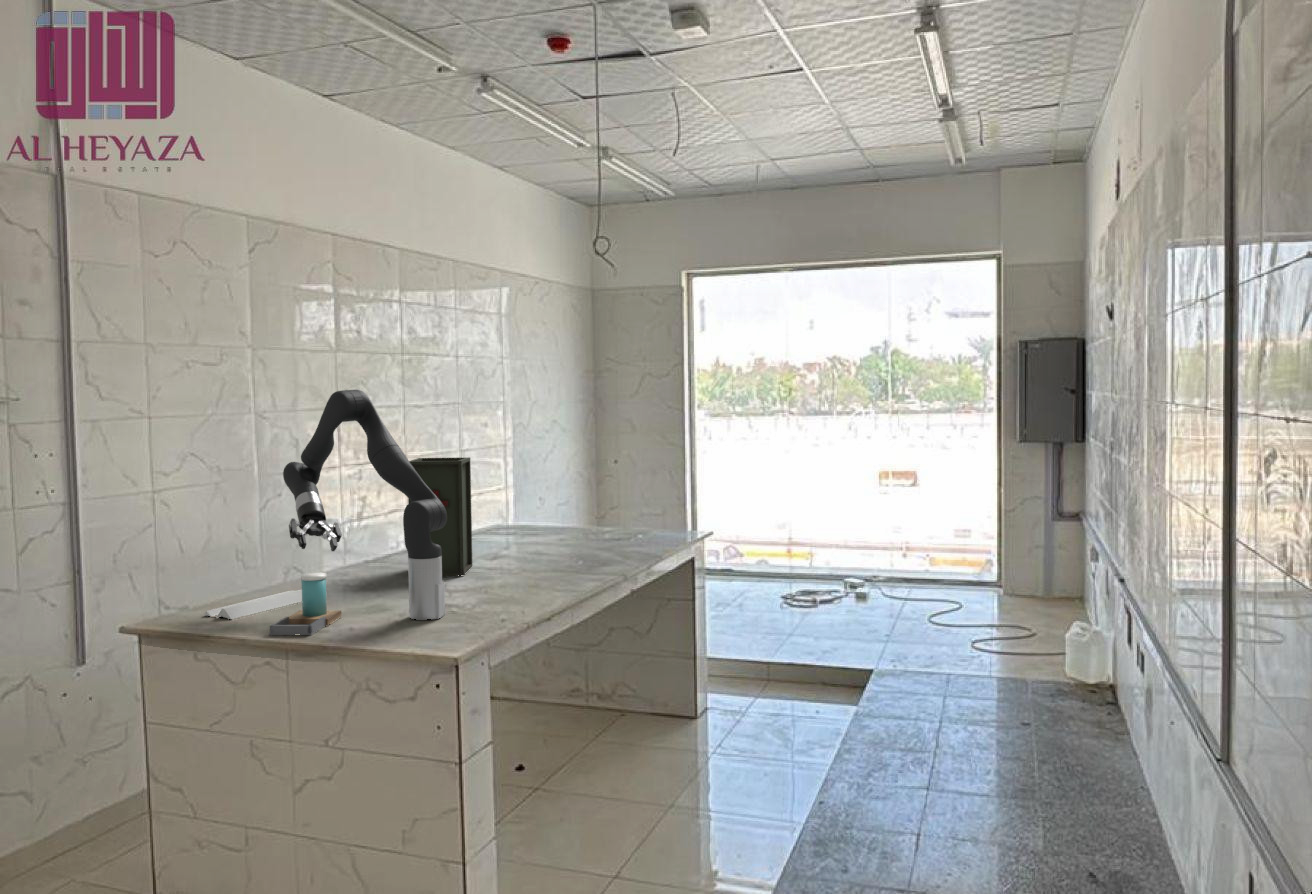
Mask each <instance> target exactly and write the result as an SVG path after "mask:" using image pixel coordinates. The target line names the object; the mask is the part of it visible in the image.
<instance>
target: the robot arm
mask: <svg viewBox="0 0 1312 894" xmlns="http://www.w3.org/2000/svg"><path fill="white" fill-rule="evenodd" d="M318 421H319V422H318V423H317V424H318V425H317V426H316V429H315V431H314V433H313V435H312V437H311V438H310V440H309V442H308V443H307V444H306V446H305V448H304V449H303V450H302V452H301V455H300V460H301V462H298V461H290V462H288V463H287V464H285V467H284V468H283V472H282V476H283V477H282V478H283V481H284V483H285V485H286V487H287V488H288V489H289V491H290V492H291V494H292V496H293V497H294V498H293V499H294V502H295V511H296V515H297V518H298V521H297V520H296V519H295V518H291V519H290V521H289V524H288V531H289V538H290V539H293V540H294V539H296V540H297V542H298V546H299V548H301V549H302V550H305V549H306V546H307V540H306V536H309V537H310V536H311V537H314V536H315V537H321V538H322V539H323V540H326V541H328V542H329V546H330V551H331V552H335V551H337V548H338V546H339V544H338V543H339V542H340V541H341V539H342V537H343V534H342V531H341V527H340V525H339V523H338V522H334V523H332V524H331V523H330V524H329V522H327V517H326V513H325V508H324V505H323V501H322V499H321V497H320V494H319V488H318V486H317V484H318V483H319V481H320V477H321V473H322V470H323V466H324V464H325V462H326V461H327V459H328V458H329V456H330V455H331V453H332V451H333V450H334V445H335V436H334V433H335V431H336V429H337V428H338V427H339V426H340V425H341V424H342V423H344V422H347V423H348V422H357V423H358V424H359V425H360V427H361V428H362V430H363V432H364V433H365V436H366V441H367V442H366V453H367V458H368V461H369V462H370V464H371V466H372V467H373V468H374V470H375V472H376V473H377V474H378V476H379V477H380V478H381V479H382V480H383V481H385V482H386V483H388V484H389V485H390V486H392V487H393V488H395V489H396V490H398V491H399V492H401V493H402V494H404V496H406V497H407V498H409V499H410V501H411V502H410V503H409V504H407V505H406V506H405V508H404V511H403V515H402V523H403V537H404V539H403V540H404V545H405V548H406V551H407V563H408V564H407V568H408V569H407V571H408V607H409V608H408V612H409V613H408V614H409V619H410V618H411V619H410V620H414V619H416V620H415V621H428V620H427V619H431V620H437V619H438V620H439V618H440V619H441V618H443V616H444V615H446V607H445V606H446V605H445V603H446V601H445V599H446V597H445V595H446V594H445V592H446V591H445V581H444V580H443V577H442V556H441V555H442V551H441V546H440V545H438V544H434V543H433V542H432V541H431V537H430V532H431V531H436V530H439V529H441V528H443V527H444V526H445V524H446V522H447V513H446V509H445V507H444V505H443V504H442V502H441V501H440V500H439V499H438V497H437V496H436V495H435V494H434V493H433V492H432V491H431V490H430V488H429V487H428V486H427V485H426V484H425V482H424V481H423V480H422V479H421V477H420V476H419V474H418V473H417V472H416V470H415V469H414V468H413V466H412V465H411V463H410V462H409V461H410V460H409V459H408V458H407V456H406V454H405V453H404V451H403V450H402V448H401V447H400V445H399V444H398V442H396V440H395V439H394V438H393V436H392V435H391V433H390V432H389V430H388V427H386V425H385V423H384V422H383V421H382V418H381V417H380V415H379V413H378V412H377V410H376V408H375V406H374V404H373V402H372V400H371V399H370V397H369V396H368V395H367V393H366V392H364V390H360V389H342V390H337V391H335V392H333V393H332V394H331V395H330V396H329V398H328V400H327V402H326V404H325V407H324V409H323V412H322V414H321V416H320V420H318ZM298 527H299V529H300V531H298V529H297V528H298Z"/></svg>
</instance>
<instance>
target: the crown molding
mask: <svg viewBox="0 0 1312 894" xmlns="http://www.w3.org/2000/svg"><path fill="white" fill-rule="evenodd" d="M301 601H302V588H301V589H298V590H293V589H291V590H288V591H287V590H286V591H283V592H279V593H275V594H271V595H267V596H266V595H265V596H262V597H259V598H253V599H250V600H246V601H242V602H237V603H233V604H230V605H226V606H221V607H216V608H212V609H209V610H206V611H205V612H204V614H203V616H204V617H208V616H215V615H217V616H216V617H223V618H226V619H228V620H229V619H234V618H238V617H241V616H246V615H250V614H254V613H258V612H262V611H266V610H270V609H274V608H278V607H282V606H286V605H289V604H293V603H297V602H301Z"/></svg>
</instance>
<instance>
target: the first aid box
mask: <svg viewBox="0 0 1312 894" xmlns="http://www.w3.org/2000/svg"><path fill="white" fill-rule="evenodd" d="M409 462H410V463H411V465H412V466H413V468H414V469H415V470H416V472H417V473H418V474H419V476H420V477H421V479H422V480H423V481H424V482H425V484H426V485H427V486H428V487H429V488H430V490H431V491H432V492H433V493H434V494H435V495H436V496H437V497H438V499H439V500H440V501H441V502H442V504H443V505H444V507H445V509H446V513H447V522H446V524H445V526H444V527H443V528H441V529H439V530H436V531H431V532H430V537H431V541H432V542H433V543H434V544H438V545H440V546H441V551H442V555H441V556H442V576H454V577H462V576H461V575H465V576H466V574H467V573H468V572H469V571H470V570H471V569H472V568H473V567H472V566H473V528H472V527H473V526H472V523H473V522H472V519H473V518H472V476H471V475H472V474H471V469H472V468H471V457H417V458H415V459H412V460H409ZM407 498H408V497H407ZM407 501H408V502H407V503H408V504H409V503H410V502H411V501H410V499H409V498H408V499H407ZM408 504H407V505H408ZM471 567H472V568H471ZM470 568H471V569H470ZM469 569H470V570H469ZM468 570H469V571H468ZM467 571H468V572H467ZM466 572H467V573H466ZM465 573H466V574H465ZM458 575H459V576H458Z"/></svg>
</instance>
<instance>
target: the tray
mask: <svg viewBox="0 0 1312 894" xmlns="http://www.w3.org/2000/svg"><path fill="white" fill-rule="evenodd" d="M325 625H326V617H322V618H320V619H318V620H317V621H315V622H313V623H312V624H289V616H285V617H283V618H281V619H279V620H278V621H275V622H274V623H272V624H270V625H269V636H272V635H295V634H300V635H311V636H313V635H314V634H316V633H317V632H316V631H318V630H319V629H321V628H322V629H324V628H325V627H324V626H325ZM323 627H324V628H323ZM322 629H321V630H322ZM319 631H320V630H319ZM319 631H318V632H319ZM315 632H316V633H315ZM313 633H314V634H313ZM312 634H313V635H312Z"/></svg>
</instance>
